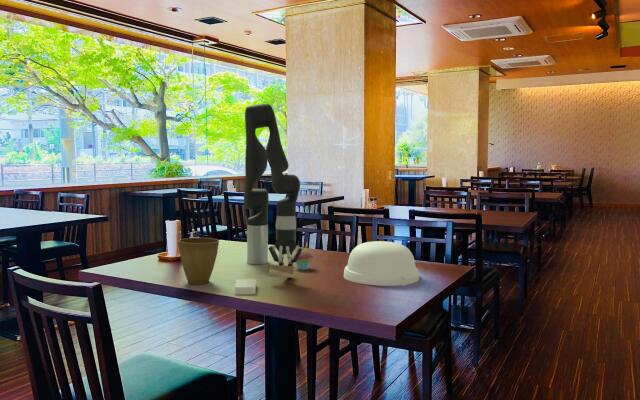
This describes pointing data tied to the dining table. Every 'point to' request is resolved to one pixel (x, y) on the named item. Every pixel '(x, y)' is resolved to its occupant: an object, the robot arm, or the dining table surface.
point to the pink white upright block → (245, 286)
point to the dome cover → (381, 264)
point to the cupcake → (304, 260)
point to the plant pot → (198, 258)
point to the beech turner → (281, 271)
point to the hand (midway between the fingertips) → (285, 272)
